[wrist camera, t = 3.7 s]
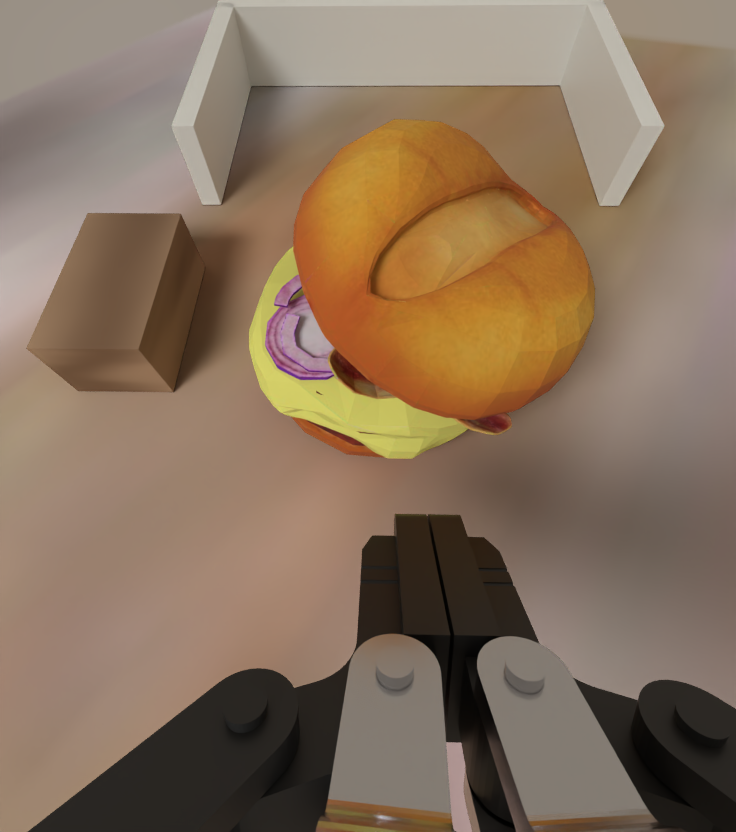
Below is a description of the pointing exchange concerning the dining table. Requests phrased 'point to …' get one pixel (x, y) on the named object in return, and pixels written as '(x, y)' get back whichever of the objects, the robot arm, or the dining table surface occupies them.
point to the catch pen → (419, 69)
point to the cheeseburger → (418, 297)
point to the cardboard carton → (122, 304)
